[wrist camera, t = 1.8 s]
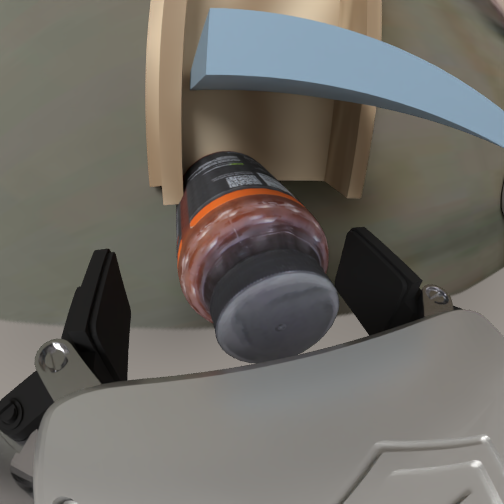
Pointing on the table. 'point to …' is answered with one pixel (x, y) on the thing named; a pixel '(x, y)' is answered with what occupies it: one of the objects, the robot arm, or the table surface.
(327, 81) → the pusher plate
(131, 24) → the table surface
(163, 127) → the lane tray
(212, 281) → the supplement bottle
